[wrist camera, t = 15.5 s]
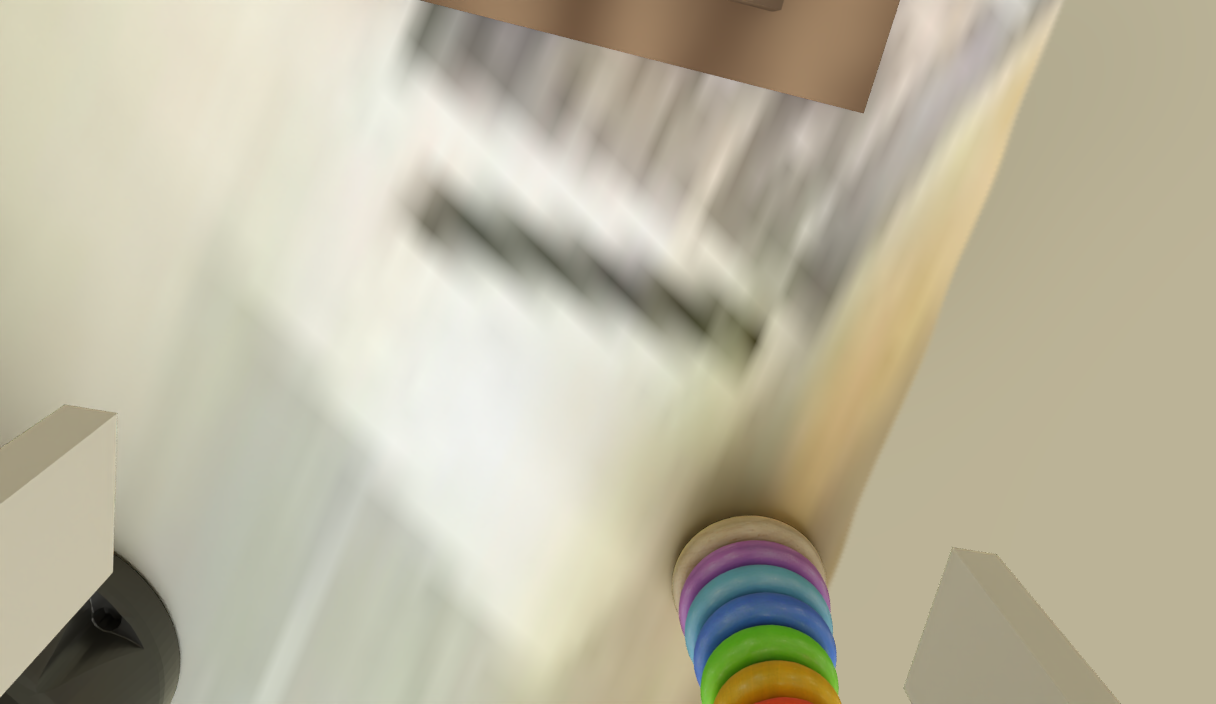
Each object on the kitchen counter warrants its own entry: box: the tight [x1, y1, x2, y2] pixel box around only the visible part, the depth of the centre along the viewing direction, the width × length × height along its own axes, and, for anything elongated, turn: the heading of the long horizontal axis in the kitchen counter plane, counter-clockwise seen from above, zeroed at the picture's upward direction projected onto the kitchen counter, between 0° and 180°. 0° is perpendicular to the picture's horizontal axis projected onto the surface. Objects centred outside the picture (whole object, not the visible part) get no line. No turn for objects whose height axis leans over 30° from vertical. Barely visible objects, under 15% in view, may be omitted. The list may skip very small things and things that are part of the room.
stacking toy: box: [672, 516, 841, 704], centre depth 39 cm, size 8×8×19 cm
